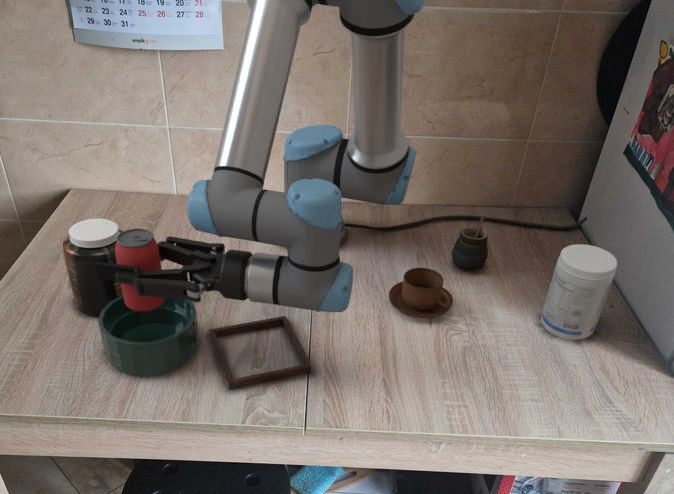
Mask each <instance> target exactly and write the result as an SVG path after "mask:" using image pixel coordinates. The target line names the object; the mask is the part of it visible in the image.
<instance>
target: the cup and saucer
mask: <svg viewBox="0 0 674 494" xmlns="http://www.w3.org/2000/svg"><path fill="white" fill-rule="evenodd" d="M402 280H403V281H400V282H397V283H396V284H394V285H393V286H392V287H391V288H390V290H389V292H388V299H389V302H390V304H391V306H392V307H394V309H396V310H397V311H398V312H400V313H402V314H404V315H405V316H408V317H411V318H416V319H433V318H437V317H441V316H443V315H444V314H446V313H448V311H450V309H451V308H452V306H453V303H454V300H453V296H452V293H450V291H449V290H448V289H446V288H445V287H444V282H445V280H444V277H443V275H442V274H441V273H440V272H438V271H437V270H435V269H433V268H432V269H431V268H427V267H413V268H410V269H408V270H407V271H405V272H404V274H403V279H402Z"/></svg>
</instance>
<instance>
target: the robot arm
mask: <svg viewBox="0 0 674 494" xmlns="http://www.w3.org/2000/svg"><path fill="white" fill-rule="evenodd" d="M425 2H426V0H246V3H247V6H248V8H249V10H250V13H249V18H248V22H247V25H246V26H247V27H246V31H245V35H244V39H243V44H242V48H241V52H240V56H239V60H238V65H237V70H236V74H235V76H234V77H235V78H234V83H233V85H232V90H231V95H230V99H229V103H228V108H227V112H226V116H225V121H224V124H223V129H222V133H221V138H220V142H219V145H218V150H217V155H216V158H215V162H214V167H213V172H212V175H211V179H208V178H207V179H200V180H196V181H195V182H194V184H193V186H192V189H191V190H190V191H189V194H188V199H187V207H186V208H187V211H186V212H187V218H188V221H189V223H190V225H191V227H193V229H195V230H196V231H198V232H201V233H207V234H209V235H214V236H218V237H219V238H229V239H237V240H245V241H249V242H256V243H261V244H266V245H271V246H276V247H283V248H286V249H287V251H286V252H287V255H279V254H273V253H267V252H255V253H252V251H249V250H248V251H247V250H238V249H228V250H227V251H226V249H225V247H226V246H225V244H224V242H223V243H222V242H211V243H210V242H205V241H199V240H194V239H187V238H183V237H178V236H177V237H176V236H171V235H170V236H167V237H166V238H165V241H163V240H162V241H161V240H160V241H158V242H157V244H158V248H159V254H160V261H161V263H162V262H163V261H165V260H166V261H169V262H172V263H174V264H176V265H180V266H181V268H165V269H162V270H145V271H139V267H135V266H127V265H119V264H111V263H104V262H97V264H96V267H97V272H98V277H99V279H100V280H107V281H115V282H117V283H123V284H129V285H135V286H136V292H137V295H139V296H150V297H163V298H176V299H186V300H189V301H192V302H193V303H200V302H201V301H202V297H201V296H202V295H203V294H205V292H207V293H208V292H219V294H221V296H222V297H223V298H225V299H228V300H235V301H242V302H245V301H246V300H249V301H250V302H253V303H262V304H268V305H276V306H281V307H289V308H294V309H301V310H308V311H314V312H318V313H320V312H321V313H322V312H324V313H343V312H345V311H346V310H347V309H348V307H349V305H350V301H351V296H352V290H353V282H354V268H353V266H352V265H351V264H350V263H347V262H344V261H341V258H340V248H341V243H342V242H343V241H344V240H345V237H346V228H354V229H363V230H370V231H393V230H399V229H403V228H409V227H414V226H418V225H423V224H425V223H429V222H435V221H443V220H457V219H461V220H479V221H480V220H481V216H482V215H468V214H467V215H464V214H463V215H462V214H460V215H457V214H456V215H454V214H453V215H441V216H435V217H429V218H425V219H424V218H423V219H421V220H416V221H413V222H407V223H403V224H397V225H390V226H371V225H365V224H356V223H347V222H345V221H344V218H343V212H342V208H343V206H342V205H343V204H342V203H343V201H342V200H343V199H347V200H354V201H359V202H366V203H371V204H376V205H381V206H385V205H388V206H400V205H401V204H403V202H404V201H405V198H406V194H407V191H408V187H409V183H410V180H411V175H412V172H413V168H414V164H415V161H416V156H417V148H415V147H413V146H411V145H409V139H408V138H407V136H406V134H405V133H404V132H403V130H402V128H401V127H402V104H403V102H402V101H403V78H404V77H403V74H404V52H405V51H404V49H405V48H404V47H405V29H406V28H408V27H409V26H410V25H411V23H412V22H413V20H414V19H415V16H416V15H415V14H418V13H420V12H421V11H422V9H423V8H424V5H425ZM317 5H319V6H320V5H321V6H328V7H336V8H338V11H339V12H338V13H339V21H340V24H341V25H342V27H343V28H344V29H345V30H346V31H348V32H349V38H350V39H349V40H350V60H351V61H350V63H351V81H352V82H351V83H352V84H351V85H352V102H353V103H352V104H353V106H352V108H353V125H354V127H353V128H354V132H353V133H352V134H351V135H350V137H349V138H344V133H343V130H342V129H341V128H340V127H337V126H335V125H330V124H316V125H314V124H313V125H309V126H304V127H300V128H298V129H296V130H294V131H292V132H290V133H289V134H288V136H287V137H286V139H285V141H284V154H283V171H284V172H283V185H284V186H283V191H279V190H277V191H276V190H272V189H265V188H264V185H265V180H266V175H267V171H268V167H269V162H270V158H271V154H272V149H273V145H274V141H275V137H276V133H277V128H278V124H279V121H280V116H281V111H282V108H283V102H284V98H285V94H286V91H287V85H288V82H289V77H290V73H291V69H292V65H293V61H294V55H295V52H296V48H297V43H298V40H299V35H300V31H301V27H302V26H304V25H305V24H307V23H308V21H310V18H311V15H312V9H313V7H315V6H317ZM483 221H490V222H496V223H497V222H498V223H507V224H514V225H520V226H525V227H533V228H534V227H535V228H543V229H550V230H551V229H552V230H572V229H575V228H577V227H579V226H581V225H583V224H584V223H585V222H586V221H588V220H587V216H585V217H583V218H582V219H580V220H579V221H578V222H576V223H573V224H570V225H553V224H544V223H535V222H527V221H522V220H521V221H520V220H514V219H507V218H499V217H491V216H485V217H484V220H483ZM116 242H117V241H116Z"/></svg>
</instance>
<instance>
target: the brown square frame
mask: <svg viewBox="0 0 674 494" xmlns="http://www.w3.org/2000/svg"><path fill="white" fill-rule="evenodd" d="M280 326H281V327H283V329H284V331H285V333H286V336H287V337H288V339H289V341H290V343H291V345H292V347H293V349H294V351H295V353H296V355H297V357H298V359H299V361H300V363H301V364H299V365H294V366H291V367H290V366H289V367H285V368H281V369H275V370H270V371H265V372H261V373H255V374H250V375H245V376H240V377H236V378H235V377H234V378H232V374H231V372H230V370H229V367H228V363H227V361H226V358H225V355H224V352H223V350H222V347H221V345H220V342H219V339H218V338H221V337H226V336H233V335H237V334H242V333H248V332H255V331H260V330H265V329H270V328H276V327H280ZM208 331H209V337H210V340H211V343H212V346H213V349H214V351H215V354H216V358H217V360H218V362H219V366H220V369H221V371H222V375H223V377H224V379H225V382H226V385H227V388H228V390H229V391H230V390H235V389H240V388H244V387H250V386H254V385H259V384H264V383H268V382H275V381H279V380H283V379H288V378H294V377H298V376H303V375H308V374H312V371H313V370H312V367H313V366H312V364H311V362H310V360H309V358H308V356H307V354H306V352H305V351H304V349H303V346H302V344H301V343H300V341H299V339H298V336H297V335H296V333H295V331H294V330H293V328H292V325H291V323H290V322H289V319H288V318H287V316H286V315H282V316H277V317H271V318H266V319H265V318H264V319H260V320H254V321H249V322H244V323H237V324H232V325H226V326H221V327H216V328H210V329H209V330H208Z"/></svg>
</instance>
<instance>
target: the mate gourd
mask: <svg viewBox="0 0 674 494" xmlns="http://www.w3.org/2000/svg"><path fill="white" fill-rule="evenodd" d="M480 216H481V220H480V219H479V223H478V226H474V225H473V226H472V225H471V226H464V227H463V228H461V230H460V232H459V237H458V238H457V240H456V242H455V243H454V245H453V247H452V250H451V259H452V262H453V265H454V266H455V267H456V268H457V269H458V270H460V271H462V272H467V273H473V272H476V271H478V270H481V269H483V267H484V266H485V264H486V263H487V261H488V256H489V247H488V239H489V233H488V231H486V230H485V229H484V228H482V225H483V222H484V221H485V220H484V217H486V216H483V215H480Z"/></svg>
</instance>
